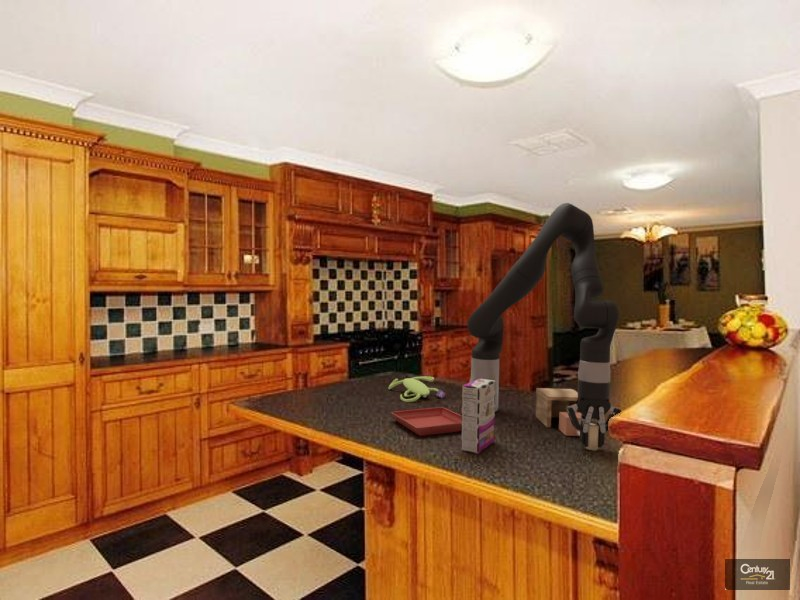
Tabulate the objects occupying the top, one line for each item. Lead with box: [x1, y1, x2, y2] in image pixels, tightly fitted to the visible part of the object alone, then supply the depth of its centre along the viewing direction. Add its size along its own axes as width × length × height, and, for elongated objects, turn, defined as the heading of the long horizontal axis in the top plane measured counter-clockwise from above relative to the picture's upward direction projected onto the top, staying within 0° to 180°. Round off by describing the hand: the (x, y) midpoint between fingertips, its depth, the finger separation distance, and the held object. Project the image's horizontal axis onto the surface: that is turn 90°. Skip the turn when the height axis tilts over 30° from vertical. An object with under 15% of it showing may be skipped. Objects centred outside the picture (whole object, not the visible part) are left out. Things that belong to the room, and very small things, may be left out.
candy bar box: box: [460, 379, 496, 455], centre depth 120 cm, size 11×5×16 cm, turn 148°
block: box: [558, 412, 599, 451], centre depth 127 cm, size 6×18×6 cm, turn 179°
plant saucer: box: [391, 406, 462, 437], centre depth 137 cm, size 18×18×3 cm
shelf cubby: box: [534, 387, 581, 428], centre depth 145 cm, size 11×12×9 cm
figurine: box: [387, 375, 446, 403], centre depth 180 cm, size 18×27×6 cm
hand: (591, 445), depth 120 cm, fingers closed on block, 3 cm apart
